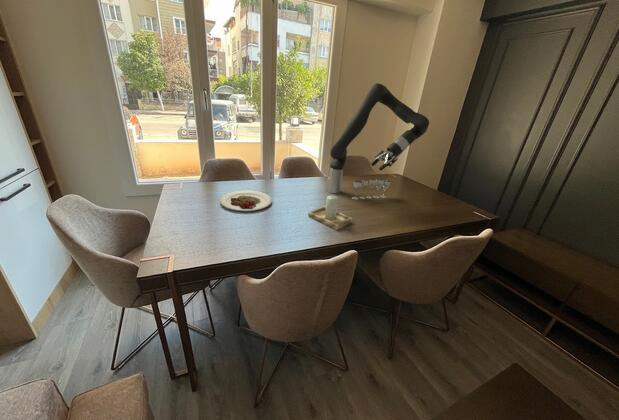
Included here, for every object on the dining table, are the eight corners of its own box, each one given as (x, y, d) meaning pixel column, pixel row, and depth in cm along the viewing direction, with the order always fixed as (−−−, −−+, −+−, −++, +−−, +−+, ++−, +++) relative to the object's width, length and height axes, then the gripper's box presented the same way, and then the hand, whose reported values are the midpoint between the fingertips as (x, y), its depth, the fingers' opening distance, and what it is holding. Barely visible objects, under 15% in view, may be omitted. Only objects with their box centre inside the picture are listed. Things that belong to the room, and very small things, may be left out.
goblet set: (383, 195, 184) (387, 177, 178) (388, 198, 179) (392, 180, 173) (349, 196, 175) (352, 178, 169) (353, 200, 170) (356, 181, 164)
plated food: (253, 189, 171) (253, 185, 170) (281, 205, 153) (281, 200, 151) (211, 199, 151) (210, 194, 150) (237, 218, 133) (237, 212, 131)
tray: (308, 216, 142) (308, 212, 141) (323, 209, 151) (324, 205, 150) (336, 230, 130) (336, 225, 129) (351, 222, 140) (352, 218, 139)
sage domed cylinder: (322, 217, 140) (324, 197, 135) (329, 214, 144) (331, 194, 139) (330, 221, 136) (332, 200, 131) (337, 217, 140) (340, 198, 135)
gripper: (387, 139, 142) (366, 159, 144) (403, 144, 130) (379, 166, 132) (393, 149, 146) (372, 168, 148) (409, 154, 134) (385, 175, 135)
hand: (375, 167), depth 140 cm, fingers open, 8 cm apart
